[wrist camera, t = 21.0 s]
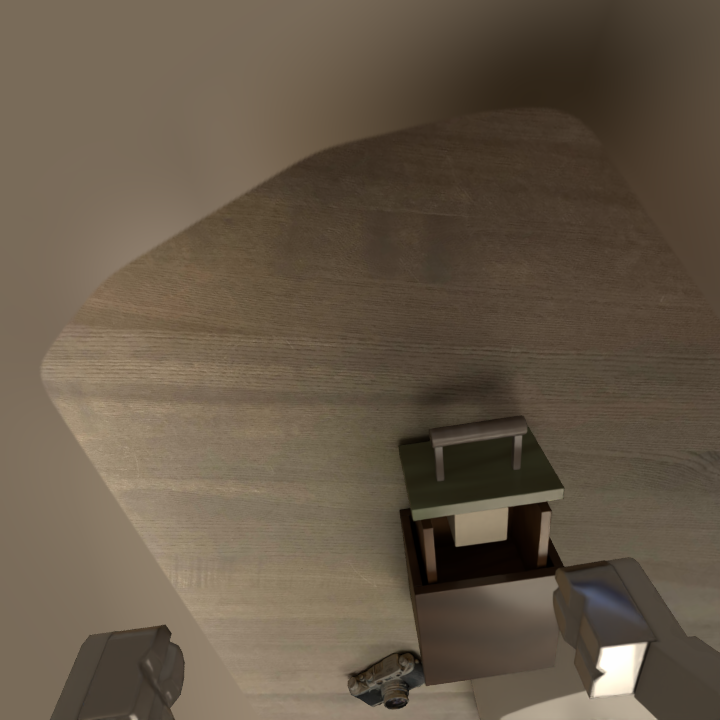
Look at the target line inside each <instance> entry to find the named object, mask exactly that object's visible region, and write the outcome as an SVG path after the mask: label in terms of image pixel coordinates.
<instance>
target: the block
mask: <svg viewBox="0 0 720 720" xmlns="http://www.w3.org/2000/svg"><path fill="white" fill-rule="evenodd" d="M447 519H448V522H449V526H450V529H451V533H452V536H453V540H454V543H455V546H456V547H459V546H466V545H473V544H481V543H488V542H495V541H503V540H507V523H508V507H506V508H499V509H492V510H485V511H478V512H471V513H464V514H458V515H451V516H447Z"/></svg>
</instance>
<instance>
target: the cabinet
mask: <svg viewBox="0 0 720 720" xmlns="http://www.w3.org/2000/svg"><path fill="white" fill-rule="evenodd" d="M400 518H401V526H402V533H403V541H404V549H405V556H406V564H407V572H408V579H409V587H410V595H411V602H412V608H413V613H414V619H415V625H416V631H417V637H418V643H419V649H420V655H421V660H422V666H423V672H424V678H425V684H426V686H430V685H437V684H444V683H451V682H458V681H465V680H472V679H479V678H486V677H493V676H500V675H507V674H514V673H521V672H528V671H535V670H542V669H549V668H554V667H555V661H556V654H557V646H558V639H559V632H560V629H559V627H558V624H557V621H556V618H555V613H554V607H553V592H554V591H555V590H556V589H557V588H558V584H557V582H556V580H555V574H556V570H557V569H558V568H562V567H564V566H563V563H562V561H561V559H560V557H559V555H558V553H557V551H556V549H555V547H554V545H553V543H552V541H551V539H550V537H549V543H548V553H547V563H546V568H542V569H535V570H528V571H521V572H514V573H507V574H500V575H493V576H487V577H480V578H473V579H466V580H459V581H452V582H445V583H438V584H431V585H425V581H424V576H423V571H422V566H421V561H420V556H419V551H418V544H417V535H416V525H415V521H413V519H412V514H411V509H404V510H400Z"/></svg>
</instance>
